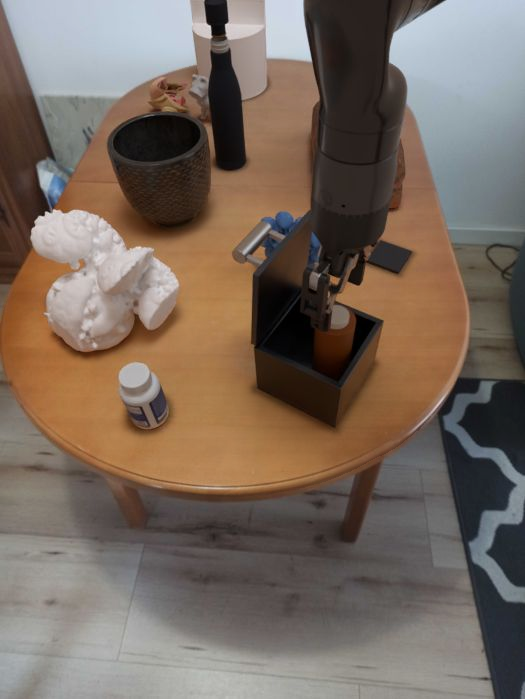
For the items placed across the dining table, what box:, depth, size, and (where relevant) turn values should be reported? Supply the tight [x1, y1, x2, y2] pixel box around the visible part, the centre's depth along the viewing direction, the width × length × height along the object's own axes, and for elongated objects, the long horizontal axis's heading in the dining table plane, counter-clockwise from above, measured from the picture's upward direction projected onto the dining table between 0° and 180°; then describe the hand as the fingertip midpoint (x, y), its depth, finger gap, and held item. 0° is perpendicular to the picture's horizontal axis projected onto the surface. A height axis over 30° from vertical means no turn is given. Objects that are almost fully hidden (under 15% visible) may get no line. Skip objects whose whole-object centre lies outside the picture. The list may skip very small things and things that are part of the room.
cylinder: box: [189, 0, 268, 101], centre depth 118 cm, size 17×17×28 cm
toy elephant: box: [146, 76, 189, 113], centre depth 119 cm, size 9×10×10 cm
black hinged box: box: [253, 288, 385, 429], centre depth 70 cm, size 13×13×10 cm
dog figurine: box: [187, 73, 210, 120], centre depth 116 cm, size 5×13×11 cm, turn 144°
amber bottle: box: [312, 305, 356, 382], centre depth 67 cm, size 5×5×14 cm
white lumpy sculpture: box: [29, 208, 180, 353], centre depth 78 cm, size 19×20×20 cm
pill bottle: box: [117, 361, 170, 430], centre depth 67 cm, size 5×5×10 cm
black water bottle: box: [204, 0, 247, 171], centre depth 96 cm, size 6×6×30 cm
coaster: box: [365, 239, 413, 275], centre depth 88 cm, size 6×6×1 cm
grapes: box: [260, 210, 321, 269], centre depth 82 cm, size 12×7×12 cm, turn 80°
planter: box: [106, 111, 212, 229], centre depth 92 cm, size 17×17×16 cm
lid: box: [231, 209, 312, 346], centre depth 63 cm, size 13×13×6 cm
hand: (337, 303), depth 60 cm, fingers open, 8 cm apart
